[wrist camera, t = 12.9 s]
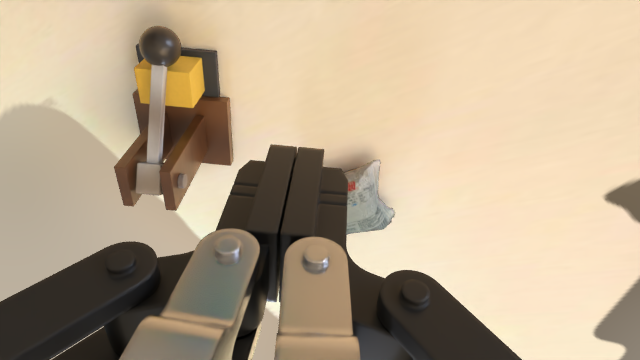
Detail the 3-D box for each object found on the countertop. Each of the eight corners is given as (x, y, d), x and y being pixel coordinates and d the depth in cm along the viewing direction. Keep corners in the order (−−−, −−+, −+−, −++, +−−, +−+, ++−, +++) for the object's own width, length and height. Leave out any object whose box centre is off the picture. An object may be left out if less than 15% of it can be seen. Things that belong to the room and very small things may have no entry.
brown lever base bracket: (137, 88, 47) (80, 146, 37) (229, 97, 47) (196, 158, 37) (149, 151, 52) (101, 217, 42) (233, 160, 51) (204, 227, 42)
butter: (137, 43, 44) (117, 60, 40) (217, 50, 44) (203, 68, 40) (145, 87, 47) (127, 107, 43) (220, 95, 47) (208, 115, 43)
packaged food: (281, 172, 52) (274, 199, 48) (379, 150, 49) (381, 176, 45) (305, 225, 57) (301, 253, 53) (396, 207, 54) (399, 235, 50)
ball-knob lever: (150, 29, 41) (132, 19, 38) (187, 32, 41) (174, 23, 38) (142, 188, 43) (124, 193, 39) (178, 192, 43) (164, 197, 39)
